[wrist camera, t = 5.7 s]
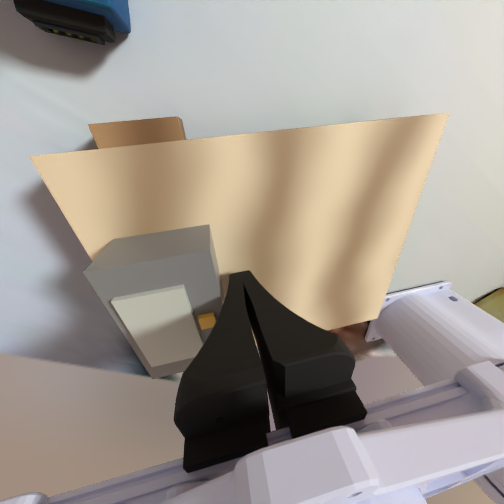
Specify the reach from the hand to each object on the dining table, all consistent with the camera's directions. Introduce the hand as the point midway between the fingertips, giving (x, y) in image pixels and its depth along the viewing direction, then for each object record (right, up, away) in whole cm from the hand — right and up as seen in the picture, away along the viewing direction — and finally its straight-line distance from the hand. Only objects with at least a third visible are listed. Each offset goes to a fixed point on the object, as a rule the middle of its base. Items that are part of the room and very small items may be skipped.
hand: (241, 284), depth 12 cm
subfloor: (+1, +3, +4) cm, 5 cm away
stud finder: (-4, 0, 0) cm, 4 cm away
